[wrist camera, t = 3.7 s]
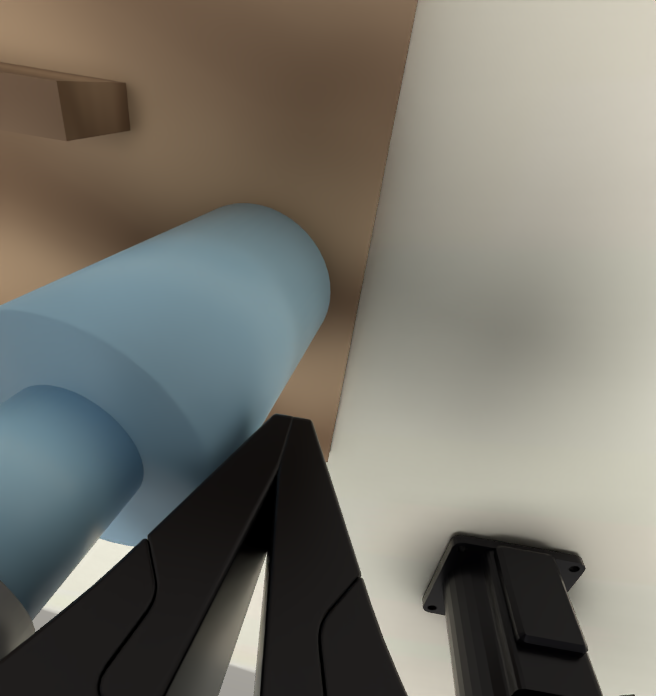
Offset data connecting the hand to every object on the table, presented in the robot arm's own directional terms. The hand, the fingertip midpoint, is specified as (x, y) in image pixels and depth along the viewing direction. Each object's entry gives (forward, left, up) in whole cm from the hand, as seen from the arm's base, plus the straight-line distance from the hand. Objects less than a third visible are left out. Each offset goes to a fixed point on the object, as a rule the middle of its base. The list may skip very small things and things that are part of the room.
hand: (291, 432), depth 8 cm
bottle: (0, +2, -7) cm, 7 cm away
